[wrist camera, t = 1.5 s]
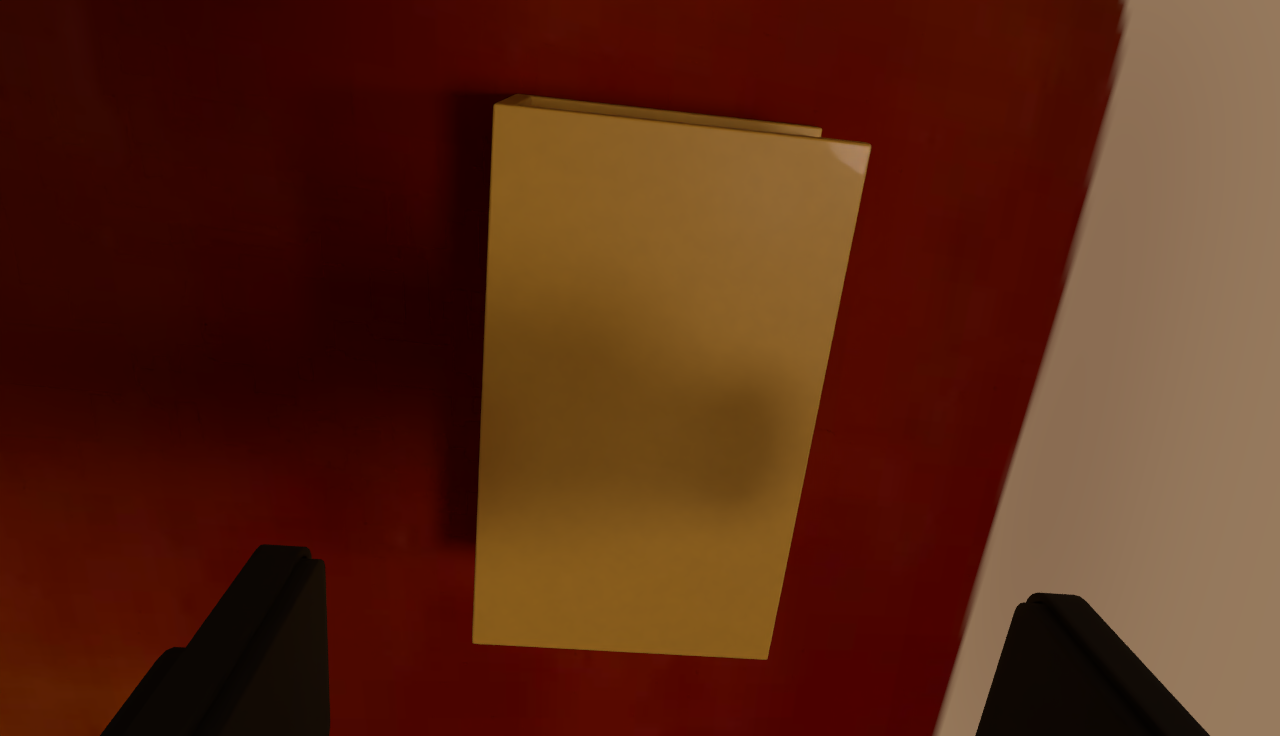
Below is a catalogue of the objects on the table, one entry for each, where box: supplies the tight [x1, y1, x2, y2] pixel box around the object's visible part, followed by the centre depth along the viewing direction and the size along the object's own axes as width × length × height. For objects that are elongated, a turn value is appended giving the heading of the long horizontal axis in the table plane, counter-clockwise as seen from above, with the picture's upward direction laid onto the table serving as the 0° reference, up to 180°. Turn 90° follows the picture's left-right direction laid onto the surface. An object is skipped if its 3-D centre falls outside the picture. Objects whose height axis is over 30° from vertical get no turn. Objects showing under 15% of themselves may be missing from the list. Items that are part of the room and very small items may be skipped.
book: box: [472, 94, 871, 660], centre depth 19 cm, size 12×7×4 cm, turn 174°
